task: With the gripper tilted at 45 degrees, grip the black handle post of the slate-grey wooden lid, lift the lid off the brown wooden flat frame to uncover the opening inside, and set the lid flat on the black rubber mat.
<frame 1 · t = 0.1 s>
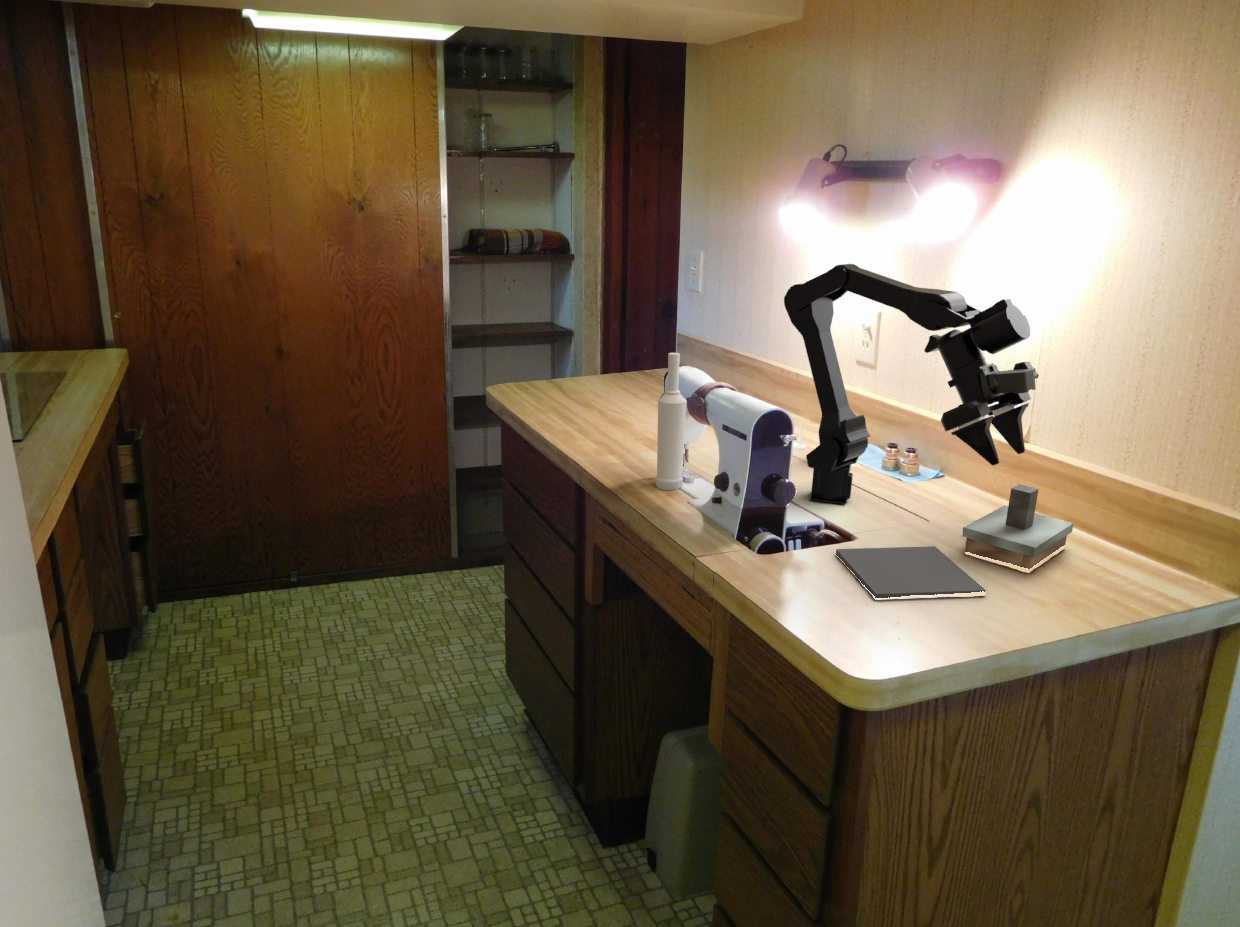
hand: (1009, 458, 143), 15 cm above the worktop, tool tilted 35°, fingers open, 9 cm apart
adhesive note: (838, 465, 188), on the worktop
bottle: (668, 487, 172), on the worktop
rubber mat: (906, 574, 136), on the worktop
toolbox lid: (1017, 534, 144), point 3 cm above the worktop, touching brown wooden flat frame
brown wooden flat frame: (1014, 551, 145), on the worktop
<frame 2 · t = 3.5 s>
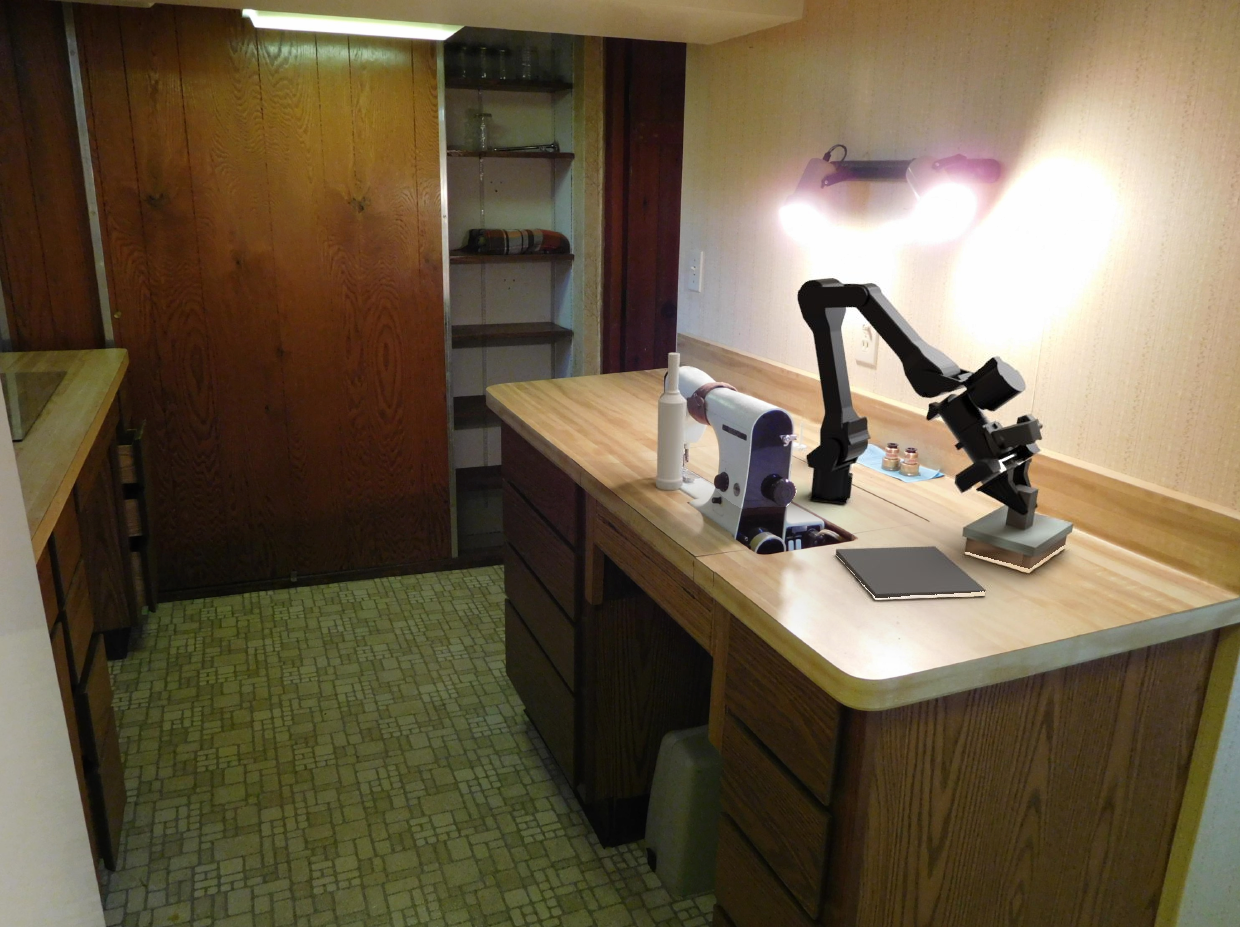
hand: (1030, 511, 142), 7 cm above the worktop, tool tilted 45°, fingers closed on toolbox lid, 3 cm apart
toolbox lid: (1017, 534, 144), point 3 cm above the worktop, touching gripper, brown wooden flat frame
everything else where it was.
when the fingers open (6 cm above the worktop, at t = 10.2 s): toolbox lid stays where it is, resting on rubber mat.
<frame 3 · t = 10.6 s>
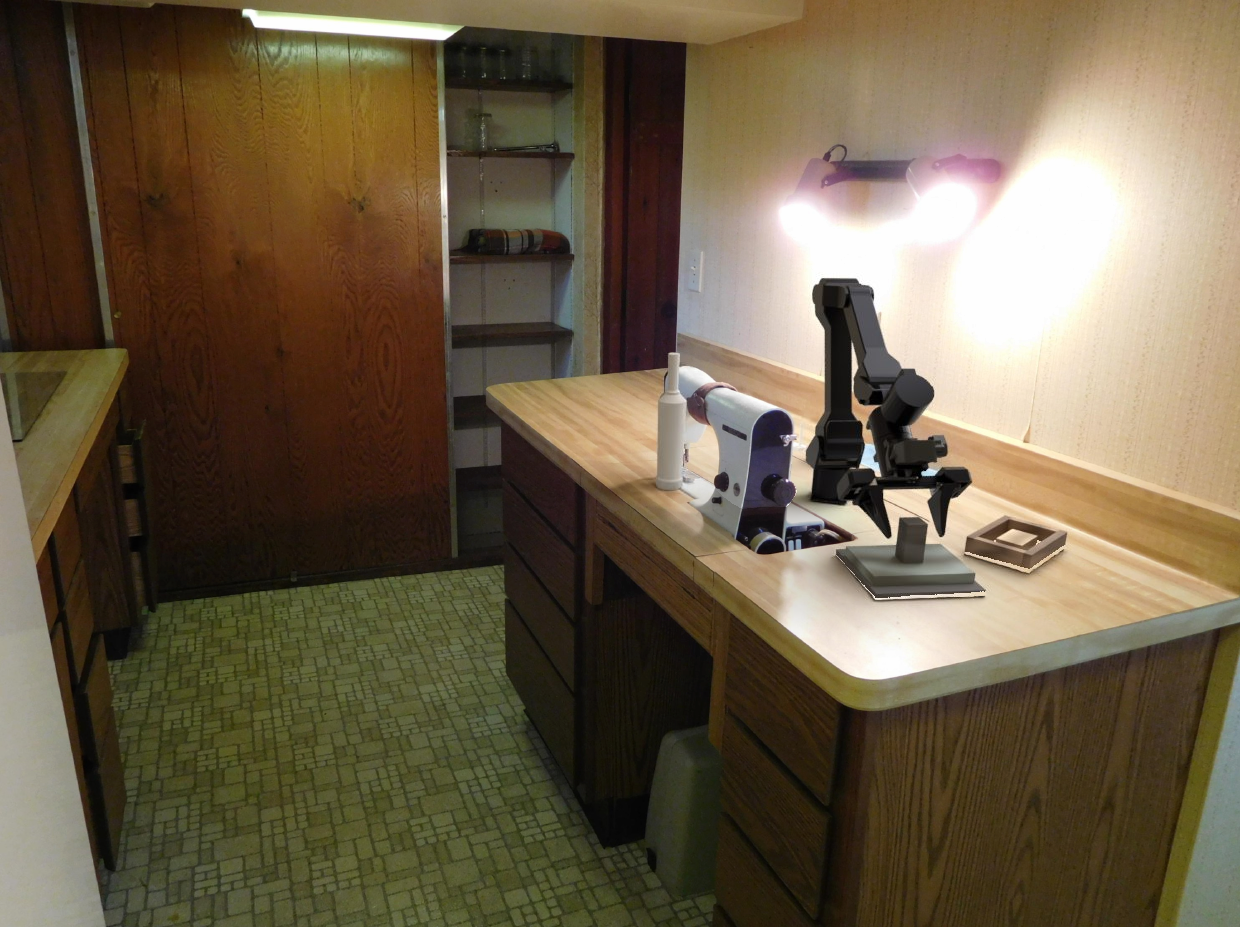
hand: (915, 536, 133), 7 cm above the worktop, tool tilted 45°, fingers open, 8 cm apart
toolbox lid: (907, 568, 136), point 1 cm above the worktop, touching rubber mat
everything else where it was.
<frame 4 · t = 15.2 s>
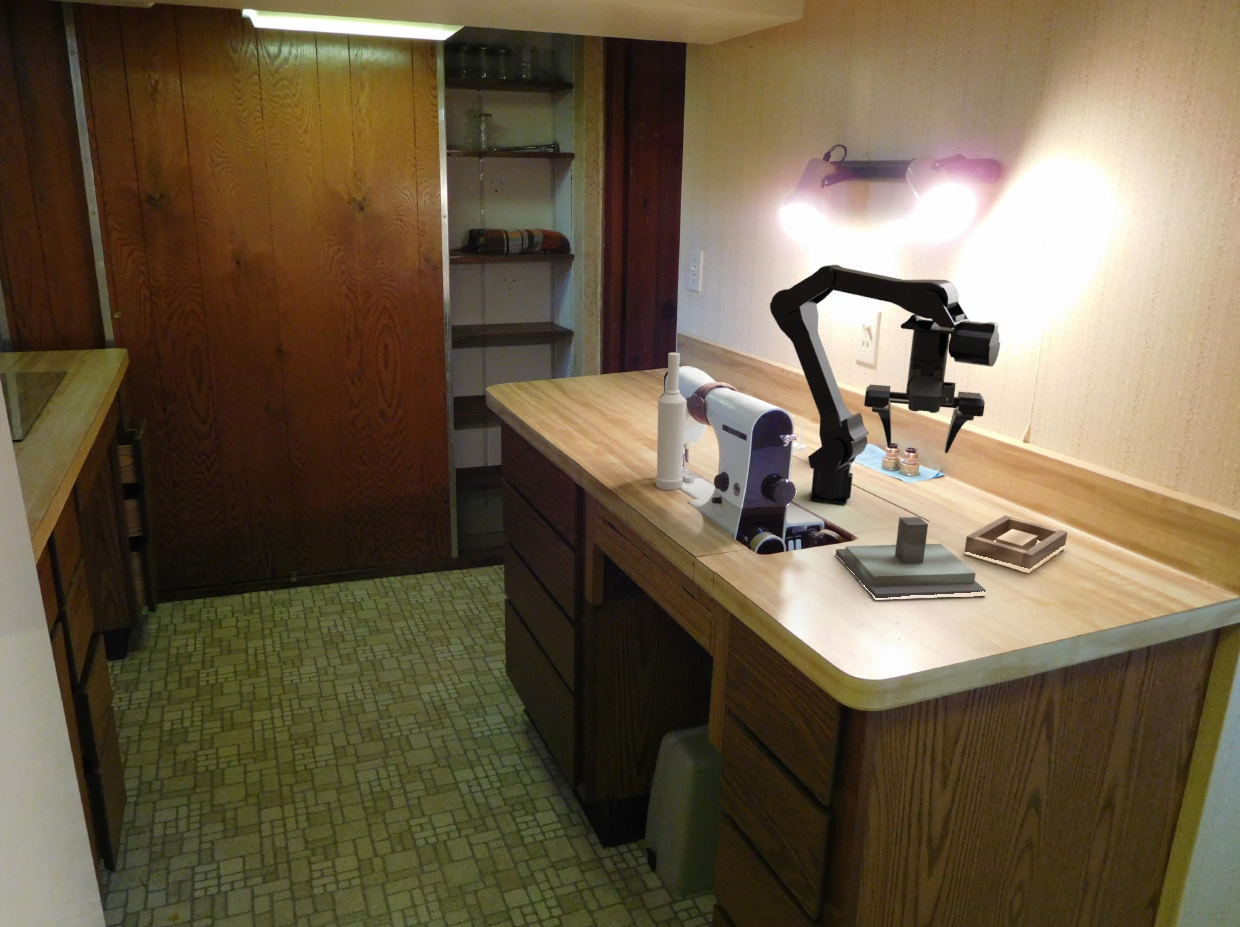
hand: (917, 449, 156), 12 cm above the worktop, tool pointing down, fingers open, 9 cm apart
nothing on the worktop moved.
at the end: toolbox lid inside the target area on the rubber mat (0.0 cm from its centre), point 1.0 cm above the rubber mat's base; toolbox lid tilted 0°; the gripper is holding nothing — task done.
